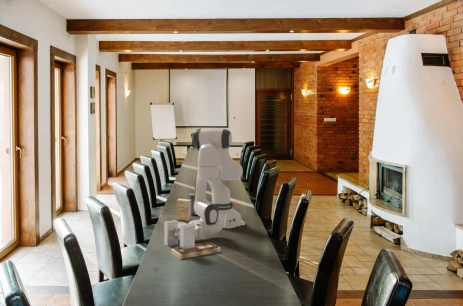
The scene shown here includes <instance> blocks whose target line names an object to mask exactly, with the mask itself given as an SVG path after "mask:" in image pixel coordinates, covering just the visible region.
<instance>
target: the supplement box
mask: <svg viewBox="0 0 463 306" xmlns="http://www.w3.org/2000/svg"><path fill="white" fill-rule="evenodd" d="M190 219H192V215H191V200H189V199H186V198H185V199H184V198H178V199H176V221H182V220H185V222H189V221H191V220H190Z"/></svg>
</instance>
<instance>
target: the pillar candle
mask: <svg viewBox="0 0 463 306" xmlns="http://www.w3.org/2000/svg"><path fill="white" fill-rule="evenodd" d="M194 194H195V192H193V193H189V194H188V200H191V206H192V202H193V199H194ZM193 215H195V214H194V213H193V212H192V209H191V216H193Z"/></svg>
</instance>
